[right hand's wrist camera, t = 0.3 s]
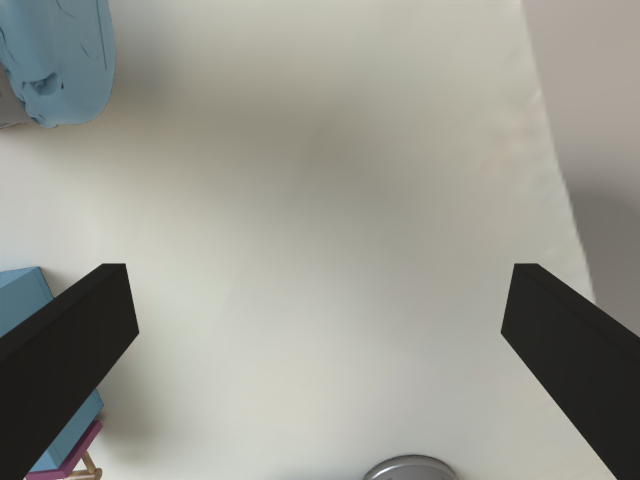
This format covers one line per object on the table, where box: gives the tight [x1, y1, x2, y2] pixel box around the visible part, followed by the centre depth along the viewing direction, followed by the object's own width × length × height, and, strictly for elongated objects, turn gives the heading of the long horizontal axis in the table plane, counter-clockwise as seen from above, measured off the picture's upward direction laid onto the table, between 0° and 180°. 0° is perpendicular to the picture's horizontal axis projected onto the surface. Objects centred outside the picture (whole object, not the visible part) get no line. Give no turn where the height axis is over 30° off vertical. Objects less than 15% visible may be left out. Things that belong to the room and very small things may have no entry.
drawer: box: [25, 420, 102, 480], centre depth 44 cm, size 25×5×8 cm, turn 9°
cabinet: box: [0, 267, 103, 472], centre depth 42 cm, size 21×6×9 cm, turn 9°
